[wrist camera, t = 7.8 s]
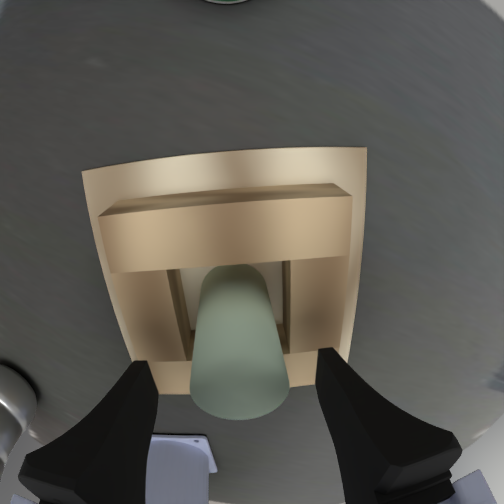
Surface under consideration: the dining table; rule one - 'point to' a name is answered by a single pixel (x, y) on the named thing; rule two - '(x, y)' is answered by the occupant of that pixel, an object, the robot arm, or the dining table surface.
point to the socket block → (231, 247)
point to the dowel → (237, 347)
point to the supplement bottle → (226, 1)
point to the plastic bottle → (14, 410)
